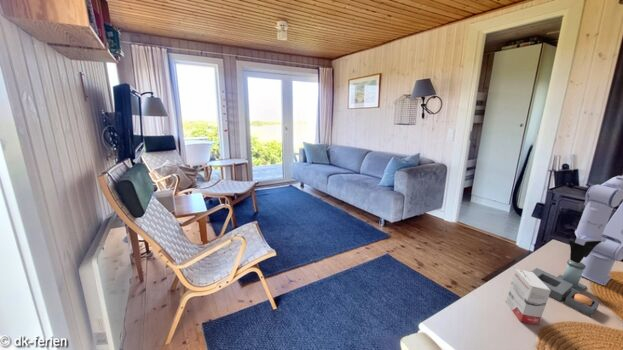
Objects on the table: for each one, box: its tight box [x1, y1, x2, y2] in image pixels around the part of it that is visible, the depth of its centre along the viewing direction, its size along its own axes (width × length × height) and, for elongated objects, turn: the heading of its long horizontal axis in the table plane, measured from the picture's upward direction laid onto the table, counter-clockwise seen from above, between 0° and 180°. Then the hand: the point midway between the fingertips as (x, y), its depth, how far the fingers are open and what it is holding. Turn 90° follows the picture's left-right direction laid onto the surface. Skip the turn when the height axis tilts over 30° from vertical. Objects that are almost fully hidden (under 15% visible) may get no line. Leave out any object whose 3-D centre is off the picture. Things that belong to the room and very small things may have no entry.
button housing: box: [564, 290, 600, 318], centre depth 80 cm, size 6×6×2 cm
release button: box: [574, 293, 593, 307], centre depth 80 cm, size 4×4×2 cm
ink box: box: [505, 268, 551, 326], centre depth 75 cm, size 9×5×12 cm, turn 168°
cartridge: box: [562, 259, 586, 287], centre depth 89 cm, size 4×4×8 cm
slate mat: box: [557, 274, 587, 294], centre depth 90 cm, size 7×7×1 cm
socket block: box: [530, 267, 573, 302], centre depth 88 cm, size 10×10×2 cm
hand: (578, 258), depth 87 cm, fingers open, 7 cm apart
